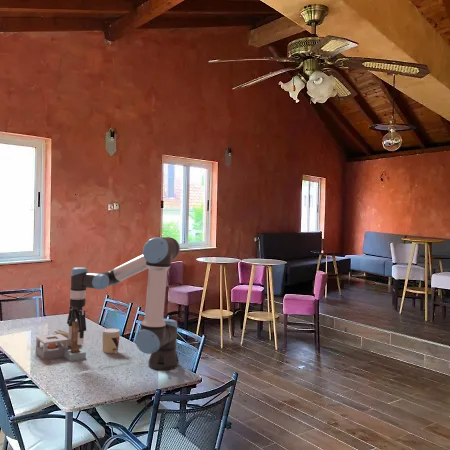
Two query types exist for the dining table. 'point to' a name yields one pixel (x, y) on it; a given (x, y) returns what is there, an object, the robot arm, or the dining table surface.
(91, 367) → the dining table surface
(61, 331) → the bowl
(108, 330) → the coffee cup
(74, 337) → the brown wooden bar
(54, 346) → the button
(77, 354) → the holder
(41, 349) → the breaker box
